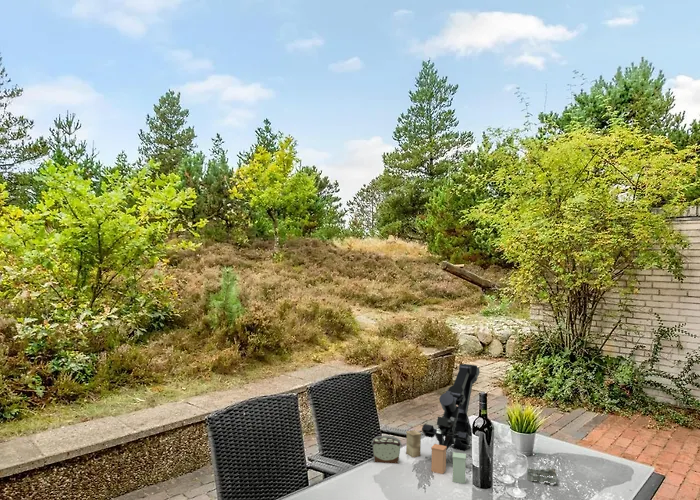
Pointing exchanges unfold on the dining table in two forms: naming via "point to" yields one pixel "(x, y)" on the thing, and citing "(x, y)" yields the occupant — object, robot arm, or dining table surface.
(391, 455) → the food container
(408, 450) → the oak key
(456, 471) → the sage key
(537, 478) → the egg carton
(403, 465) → the dining table surface
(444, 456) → the orange rectangular block
